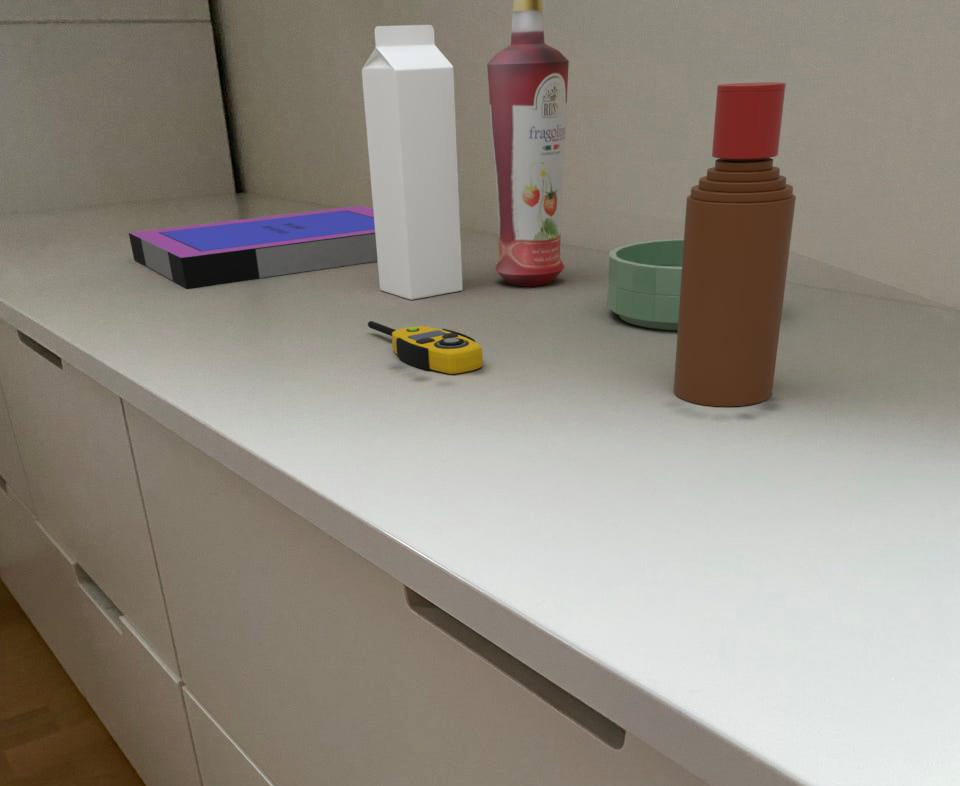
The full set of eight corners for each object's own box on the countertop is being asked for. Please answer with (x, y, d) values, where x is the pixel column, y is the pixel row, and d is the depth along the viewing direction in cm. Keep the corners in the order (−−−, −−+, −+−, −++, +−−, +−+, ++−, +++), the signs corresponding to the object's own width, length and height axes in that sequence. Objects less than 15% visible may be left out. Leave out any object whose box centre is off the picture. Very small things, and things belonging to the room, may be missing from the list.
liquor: (527, 293, 93) (523, -69, 79) (478, 282, 98) (466, -60, 84) (582, 280, 97) (588, -66, 83) (532, 271, 102) (529, -58, 88)
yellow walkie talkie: (439, 352, 69) (341, 314, 80) (441, 379, 70) (344, 338, 81) (495, 340, 72) (393, 305, 82) (496, 366, 73) (395, 328, 83)
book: (128, 232, 115) (360, 205, 127) (134, 259, 116) (363, 230, 129) (180, 257, 99) (439, 224, 112) (186, 288, 101) (440, 252, 114)
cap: (760, 151, 60) (767, 81, 58) (790, 156, 57) (799, 83, 55) (701, 155, 59) (706, 84, 57) (728, 160, 56) (734, 86, 54)
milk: (379, 291, 97) (355, 27, 85) (431, 281, 99) (414, 25, 88) (411, 300, 92) (390, 24, 81) (464, 290, 95) (452, 22, 84)
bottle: (745, 374, 69) (776, 87, 60) (789, 401, 63) (830, 91, 54) (659, 382, 68) (677, 92, 59) (696, 411, 62) (722, 96, 53)
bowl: (724, 292, 91) (729, 234, 88) (793, 325, 80) (801, 260, 77) (587, 304, 89) (589, 245, 86) (638, 339, 77) (641, 273, 75)
